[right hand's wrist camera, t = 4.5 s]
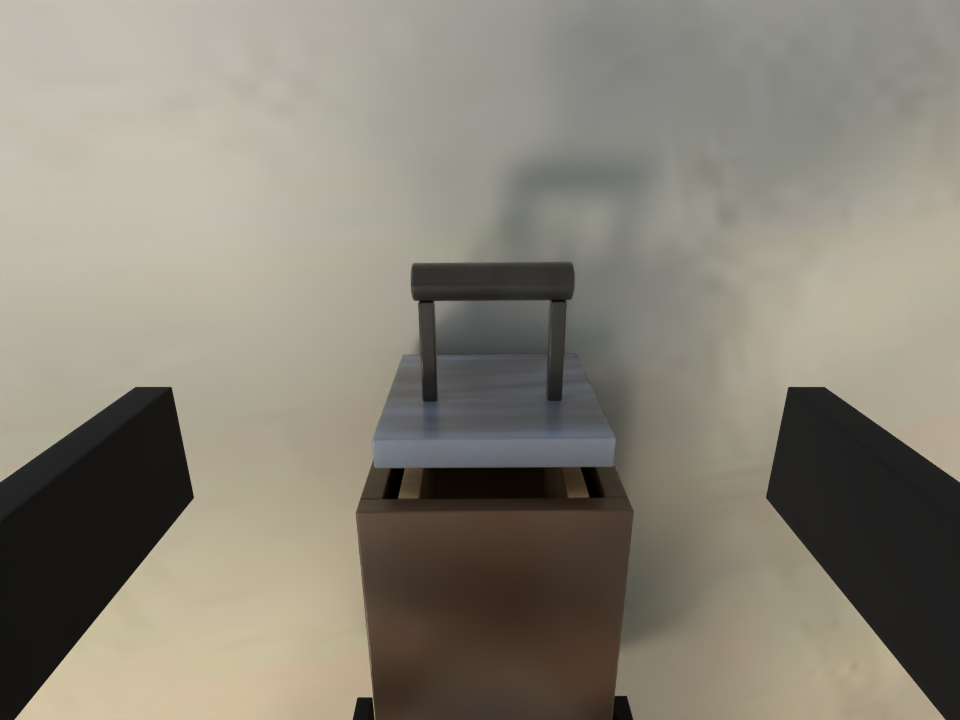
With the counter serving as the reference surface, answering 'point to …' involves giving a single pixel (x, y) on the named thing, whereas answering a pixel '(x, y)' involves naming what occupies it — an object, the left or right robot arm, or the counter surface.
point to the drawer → (492, 399)
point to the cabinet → (494, 601)
